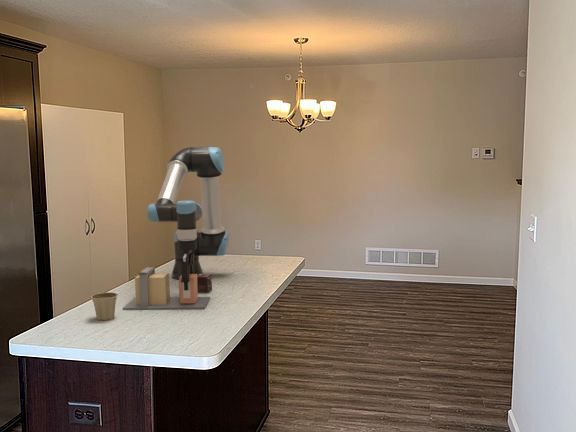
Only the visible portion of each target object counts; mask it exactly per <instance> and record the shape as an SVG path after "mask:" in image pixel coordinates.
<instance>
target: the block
mask: <svg viewBox="0 0 576 432" xmlns="http://www.w3.org/2000/svg"><path fill="white" fill-rule="evenodd" d="M184 279H186V278H184ZM181 280H182V275H181V276H180V277H179V279H178V290H179V297H180V303H195V302H196V301H197V299H198V297H199V296H198V289H197V274H190V275H189V282H190V298H183V282H181Z"/></svg>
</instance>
